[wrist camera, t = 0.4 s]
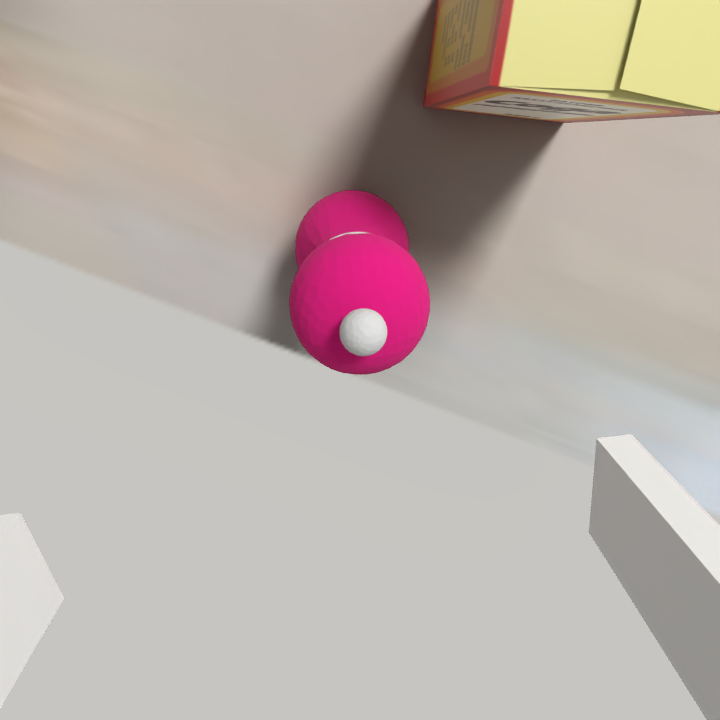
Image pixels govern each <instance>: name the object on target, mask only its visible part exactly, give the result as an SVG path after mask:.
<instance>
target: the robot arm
mask: <svg viewBox="0 0 720 720" xmlns="http://www.w3.org/2000/svg"><path fill="white" fill-rule="evenodd" d="M589 533H590V535H591V536H592V538H593V540H594V541H595V543H596V544H597V546H598V547H599V549H600V551H601V552H602V554H603V555H604V557H605V558H606V560H607V561H608V563H609V565H610V566H611V568H612V570H613V571H614V573H615V574H616V576H617V578H618V579H619V581H620V582H621V584H622V586H623V587H624V589H625V590H626V592H627V594H628V595H629V597H630V598H631V600H632V602H633V603H634V604H635V606H636V608H637V609H638V611H639V613H640V614H641V616H642V617H643V619H644V621H645V622H646V624H647V625H648V627H649V629H650V630H651V632H652V633H653V635H654V636H655V638H656V640H657V641H658V643H659V644H660V646H661V647H662V649H663V651H664V652H665V654H666V656H667V657H668V659H669V660H670V662H671V663H672V665H673V667H674V668H675V670H676V671H677V673H678V675H679V676H680V678H681V679H682V681H683V683H684V684H685V686H686V687H687V689H688V690H689V692H690V694H691V695H692V697H693V698H694V700H695V701H696V703H697V705H698V706H699V708H700V710H701V711H702V713H703V714H704V716H705V718H706V719H707V720H720V525H719V524H718V523H717V522H716V521H715V520H714V519H713V518H712V517H711V516H710V515H709V514H708V513H707V512H706V511H705V510H704V509H703V508H702V507H701V506H700V505H699V504H698V503H697V502H696V501H695V500H694V499H693V498H692V497H691V496H690V494H689V493H688V492H687V491H686V490H685V489H684V488H683V487H682V486H681V485H680V484H679V483H678V482H677V481H676V480H675V479H674V478H673V477H672V476H671V475H670V474H669V473H668V472H667V471H666V470H665V469H664V468H663V467H662V466H661V465H660V464H659V463H658V462H657V460H656V459H655V458H654V457H653V456H652V455H651V454H650V453H649V452H648V451H647V450H646V449H645V448H644V447H643V446H642V445H641V444H640V443H639V442H638V441H637V440H636V439H635V438H634V437H633V436H632V435H631V434H628V435H620V436H612V437H604V438H597V441H596V453H595V465H594V477H593V490H592V502H591V514H590V527H589ZM63 600H64V597H63V595H62V593H61V591H60V589H59V587H58V585H57V583H56V581H55V579H54V577H53V575H52V573H51V572H50V570H49V568H48V566H47V564H46V562H45V560H44V558H43V556H42V554H41V552H40V550H39V548H38V546H37V544H36V542H35V541H34V539H33V537H32V535H31V533H30V531H29V529H28V527H27V525H26V523H25V521H24V519H23V517H22V515H21V513H15V514H6V515H0V709H1V707H2V705H3V704H4V702H5V700H6V698H7V697H8V695H9V693H10V691H11V690H12V688H13V686H14V685H15V683H16V681H17V679H18V678H19V676H20V674H21V673H22V671H23V669H24V667H25V666H26V663H27V662H28V660H29V659H30V657H31V655H32V653H33V652H34V650H35V648H36V647H37V645H38V643H39V642H40V640H41V638H42V636H43V635H44V633H45V631H46V630H47V628H48V626H49V624H50V622H51V621H52V619H53V617H54V616H55V614H56V612H57V611H58V609H59V607H60V605H61V604H62V602H63Z"/></svg>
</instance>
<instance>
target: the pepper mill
mask: <svg viewBox="0 0 720 720" xmlns="http://www.w3.org/2000/svg"><path fill="white" fill-rule="evenodd" d="M295 251H296V260H297V264H298V268H299V269H298V271H297V273H296V275H295V277H294V280H293V282H292V286H291V291H290V298H289V306H290V315H291V320H292V324H293V328H294V330H295V332H296V334H297V337H298V338H299V340H300V342H301V344H302V345H303V347H304V348H305V349H306V350H307V352H308V353H309V354H310V355H311V356H313V357H314V358H315V359H316V360H318V361H319V362H320V363H322V364H324V365H325V366H327V367H329V368H331V369H333V370H336V371H339V372H342V373H349V374H371V373H377V372H380V371H383V370H386V369H388V368H390V367H392V366H394V365H396V364H397V363H399V362H401V361H402V360H403V359H404V358H405V357H406V356H408V355H409V354H410V353H411V352H412V351H413V349H414V348H415V347H416V345H417V344H418V342H419V341H420V339H421V338H422V336H423V334H424V331H425V329H426V327H427V322H428V317H429V312H430V297H429V290H428V286H427V283H426V279H425V276H424V274H423V273H422V271H421V269H420V267H419V265H418V263H417V261H416V260H415V259H414V258H413V257H412V256H411V255H410V254H409V241H408V236H407V232H406V229H405V226H404V224H403V221H402V220H401V218H400V216H399V215H398V213H397V212H396V211H395V210H394V208H393V207H392V206H391V205H389V204H388V203H387V202H386V201H385V200H383V199H381V198H379V197H378V196H376V195H374V194H371V193H368V192H364V191H357V190H346V191H341V192H336V193H333V194H331V195H329V196H327V197H324V198H323V199H321V200H320V201H318V202H317V203H316V204H315V205H314V206H313V207H312V208H311V209H310V210H309V211H308V212H307V214H306V215H305V216H304V218H303V220H302V222H301V224H300V226H299V229H298V232H297V237H296V249H295Z"/></svg>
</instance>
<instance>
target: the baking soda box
mask: <svg viewBox="0 0 720 720" xmlns="http://www.w3.org/2000/svg"><path fill="white" fill-rule="evenodd" d="M423 107H426V108H435V109H444V110H453V111H462V112H471V113H480V114H488V115H497V116H506V117H515V118H524V119H533V120H541V121H550V122H559V123H572V122H590V121H607V120H625V119H643V118H660V117H678V116H696V115H713V114H720V0H438V1H437V8H436V16H435V23H434V31H433V38H432V46H431V53H430V61H429V68H428V76H427V83H426V91H425V98H424V106H423Z"/></svg>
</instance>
